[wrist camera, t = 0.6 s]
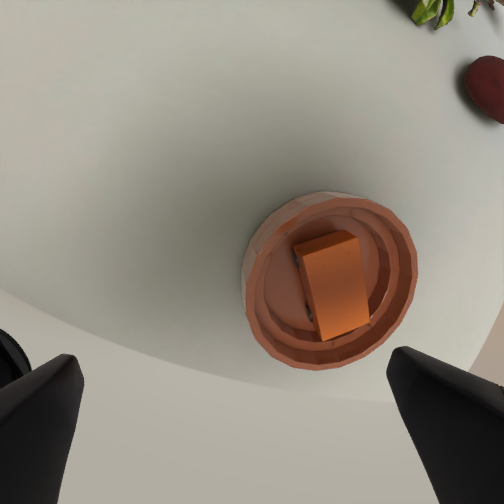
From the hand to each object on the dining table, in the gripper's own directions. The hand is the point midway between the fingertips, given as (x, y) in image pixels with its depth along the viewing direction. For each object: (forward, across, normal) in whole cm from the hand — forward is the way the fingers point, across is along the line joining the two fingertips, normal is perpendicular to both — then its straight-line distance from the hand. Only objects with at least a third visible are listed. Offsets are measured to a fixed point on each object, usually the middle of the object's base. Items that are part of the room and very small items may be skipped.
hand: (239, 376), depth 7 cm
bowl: (+15, -8, +3) cm, 17 cm away
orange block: (+14, -8, +3) cm, 17 cm away
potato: (+15, -25, -16) cm, 34 cm away
